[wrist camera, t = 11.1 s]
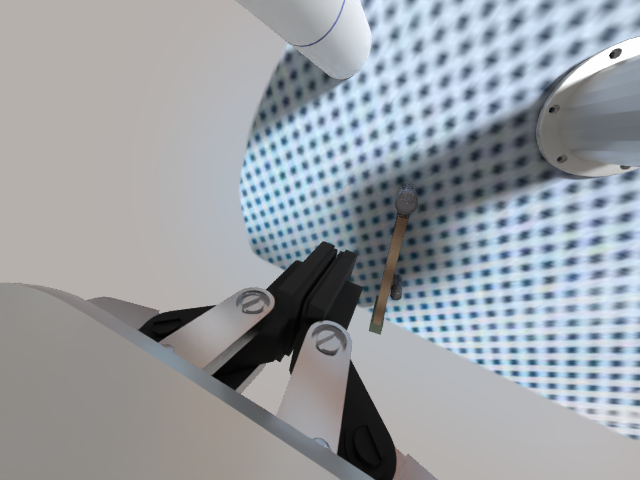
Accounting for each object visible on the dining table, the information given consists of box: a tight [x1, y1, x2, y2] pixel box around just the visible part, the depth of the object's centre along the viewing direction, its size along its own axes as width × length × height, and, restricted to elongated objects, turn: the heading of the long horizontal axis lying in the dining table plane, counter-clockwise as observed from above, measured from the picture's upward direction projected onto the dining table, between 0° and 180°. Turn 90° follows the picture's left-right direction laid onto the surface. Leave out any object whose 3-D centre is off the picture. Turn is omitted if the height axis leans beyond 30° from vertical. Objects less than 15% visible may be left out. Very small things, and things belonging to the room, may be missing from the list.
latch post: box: [390, 275, 402, 300], centre depth 37 cm, size 2×2×5 cm
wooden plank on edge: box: [369, 212, 409, 334], centre depth 34 cm, size 19×2×7 cm, turn 176°
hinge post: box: [395, 183, 418, 215], centre depth 30 cm, size 2×2×8 cm
